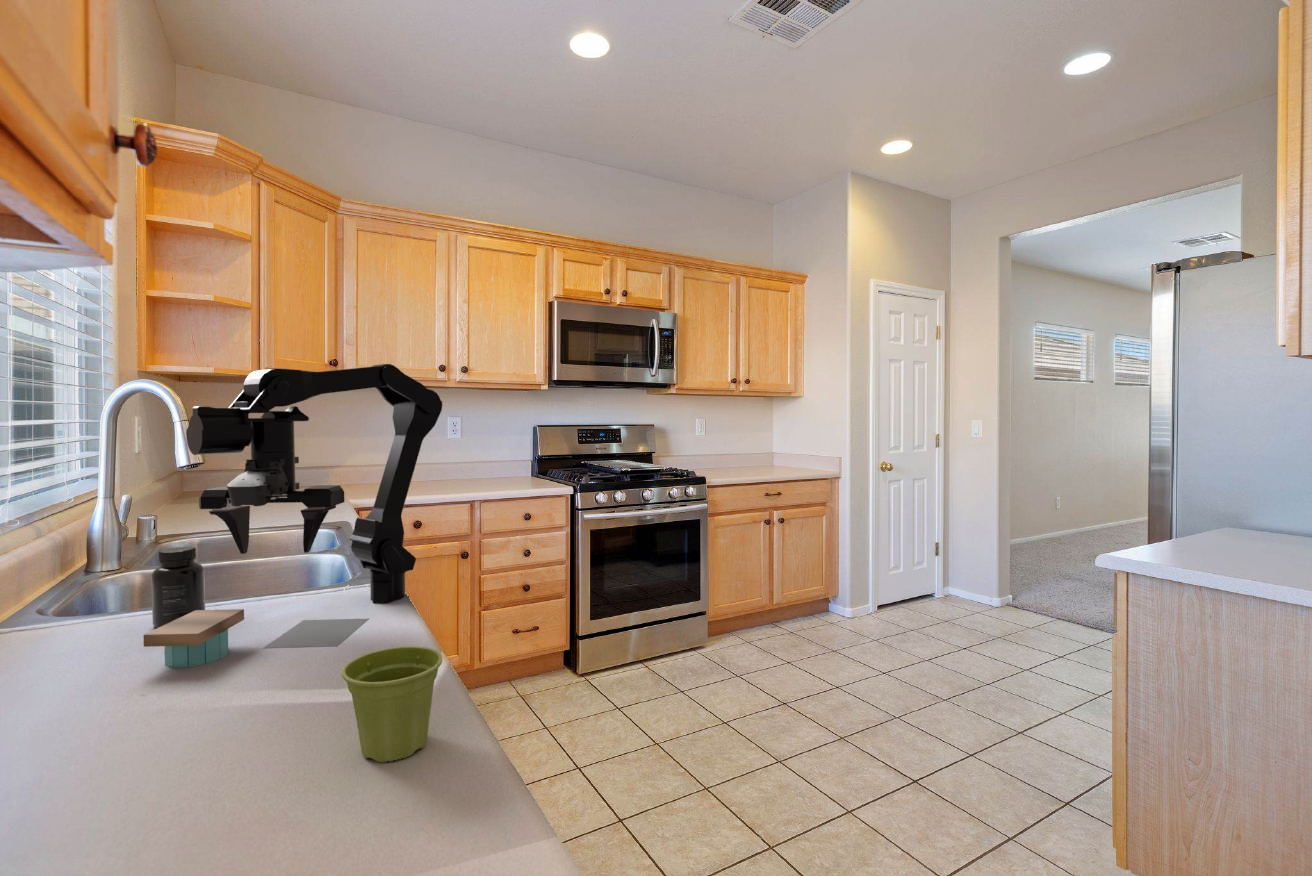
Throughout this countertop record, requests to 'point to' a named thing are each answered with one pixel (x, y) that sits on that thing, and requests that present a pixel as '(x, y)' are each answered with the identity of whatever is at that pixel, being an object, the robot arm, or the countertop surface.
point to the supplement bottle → (177, 585)
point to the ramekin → (197, 652)
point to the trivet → (317, 633)
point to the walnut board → (194, 628)
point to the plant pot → (392, 699)
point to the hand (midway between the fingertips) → (275, 552)
